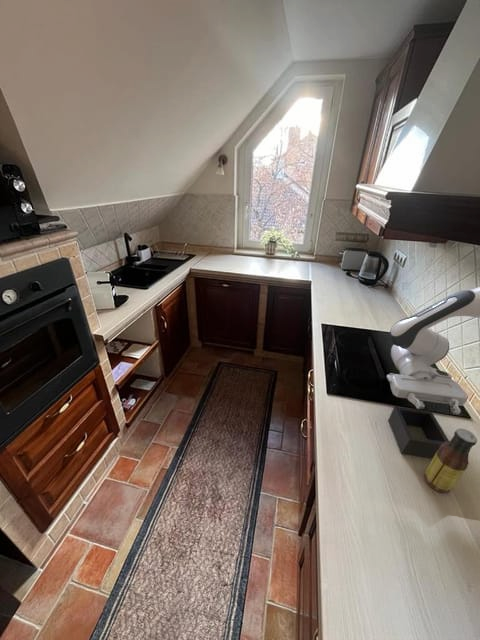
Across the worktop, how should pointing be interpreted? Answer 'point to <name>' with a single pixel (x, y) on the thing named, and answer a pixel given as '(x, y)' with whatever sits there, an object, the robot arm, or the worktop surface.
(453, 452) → the sauce bottle
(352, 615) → the worktop surface
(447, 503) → the worktop surface
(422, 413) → the caddy
